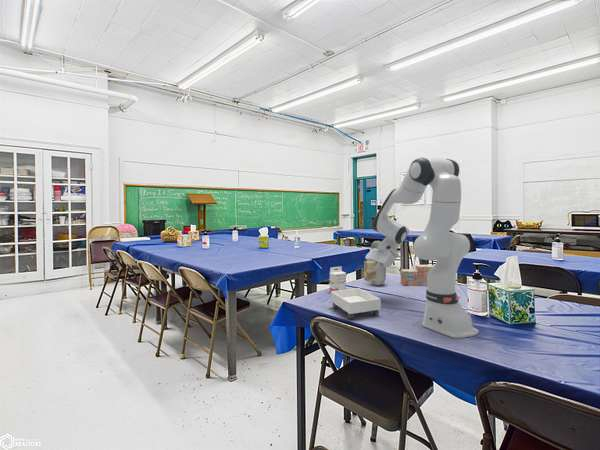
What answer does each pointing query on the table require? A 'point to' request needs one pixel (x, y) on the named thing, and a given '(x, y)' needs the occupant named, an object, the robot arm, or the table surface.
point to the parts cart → (355, 301)
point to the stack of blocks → (415, 275)
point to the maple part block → (369, 271)
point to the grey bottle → (380, 271)
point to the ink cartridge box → (337, 279)
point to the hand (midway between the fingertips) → (370, 269)
